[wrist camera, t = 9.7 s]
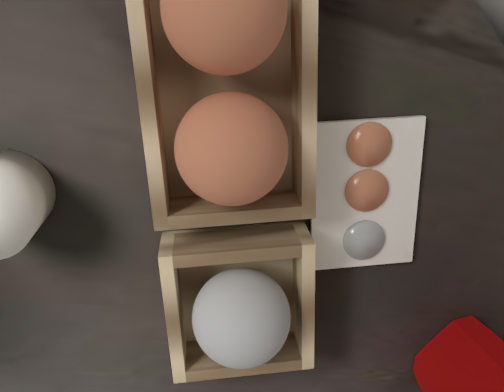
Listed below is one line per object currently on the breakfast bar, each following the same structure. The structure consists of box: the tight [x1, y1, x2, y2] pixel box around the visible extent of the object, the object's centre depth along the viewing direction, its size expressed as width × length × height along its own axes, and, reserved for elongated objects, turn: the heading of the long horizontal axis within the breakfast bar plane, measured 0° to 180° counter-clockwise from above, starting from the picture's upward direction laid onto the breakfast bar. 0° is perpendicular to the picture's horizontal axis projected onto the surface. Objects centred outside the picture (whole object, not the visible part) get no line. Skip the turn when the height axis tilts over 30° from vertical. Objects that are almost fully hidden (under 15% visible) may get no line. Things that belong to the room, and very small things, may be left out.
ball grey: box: [192, 267, 291, 369], centre depth 29 cm, size 6×6×6 cm
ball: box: [174, 91, 288, 206], centre depth 25 cm, size 6×6×6 cm
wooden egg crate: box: [125, 0, 318, 231], centre depth 25 cm, size 16×9×3 cm, turn 2°
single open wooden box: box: [158, 220, 316, 383], centre depth 30 cm, size 9×9×3 cm
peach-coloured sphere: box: [160, 0, 288, 76], centre depth 22 cm, size 6×6×6 cm
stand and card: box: [0, 115, 426, 270], centre depth 28 cm, size 10×28×4 cm, turn 92°
